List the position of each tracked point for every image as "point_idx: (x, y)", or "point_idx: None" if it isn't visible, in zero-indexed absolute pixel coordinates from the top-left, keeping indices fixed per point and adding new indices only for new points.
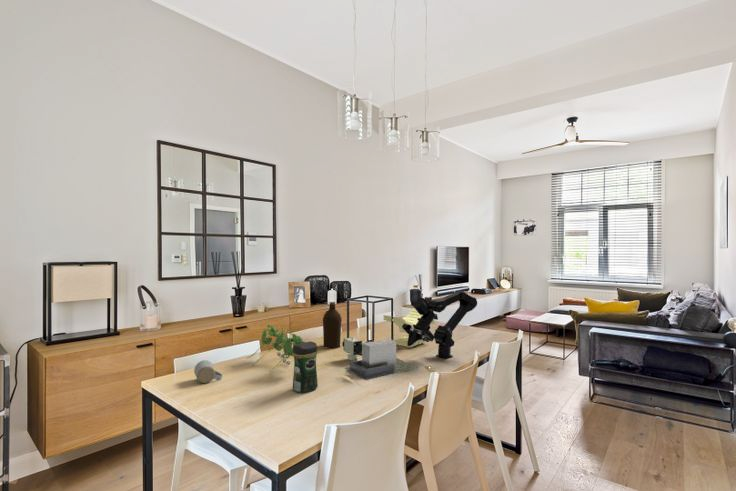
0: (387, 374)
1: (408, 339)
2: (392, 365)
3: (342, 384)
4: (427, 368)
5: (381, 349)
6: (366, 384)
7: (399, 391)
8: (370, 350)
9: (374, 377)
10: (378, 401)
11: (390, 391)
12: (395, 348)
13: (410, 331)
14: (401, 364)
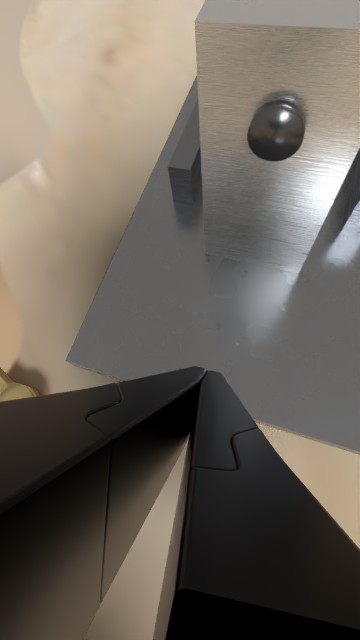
0: (171, 149)
1: (229, 402)
2: (172, 158)
3: None
4: (6, 382)
5: None
6: (188, 63)
7: (41, 97)
8: None
9: (196, 92)
10: (66, 25)
11: (71, 80)
12: (202, 112)
13: (274, 605)
14: (218, 329)
